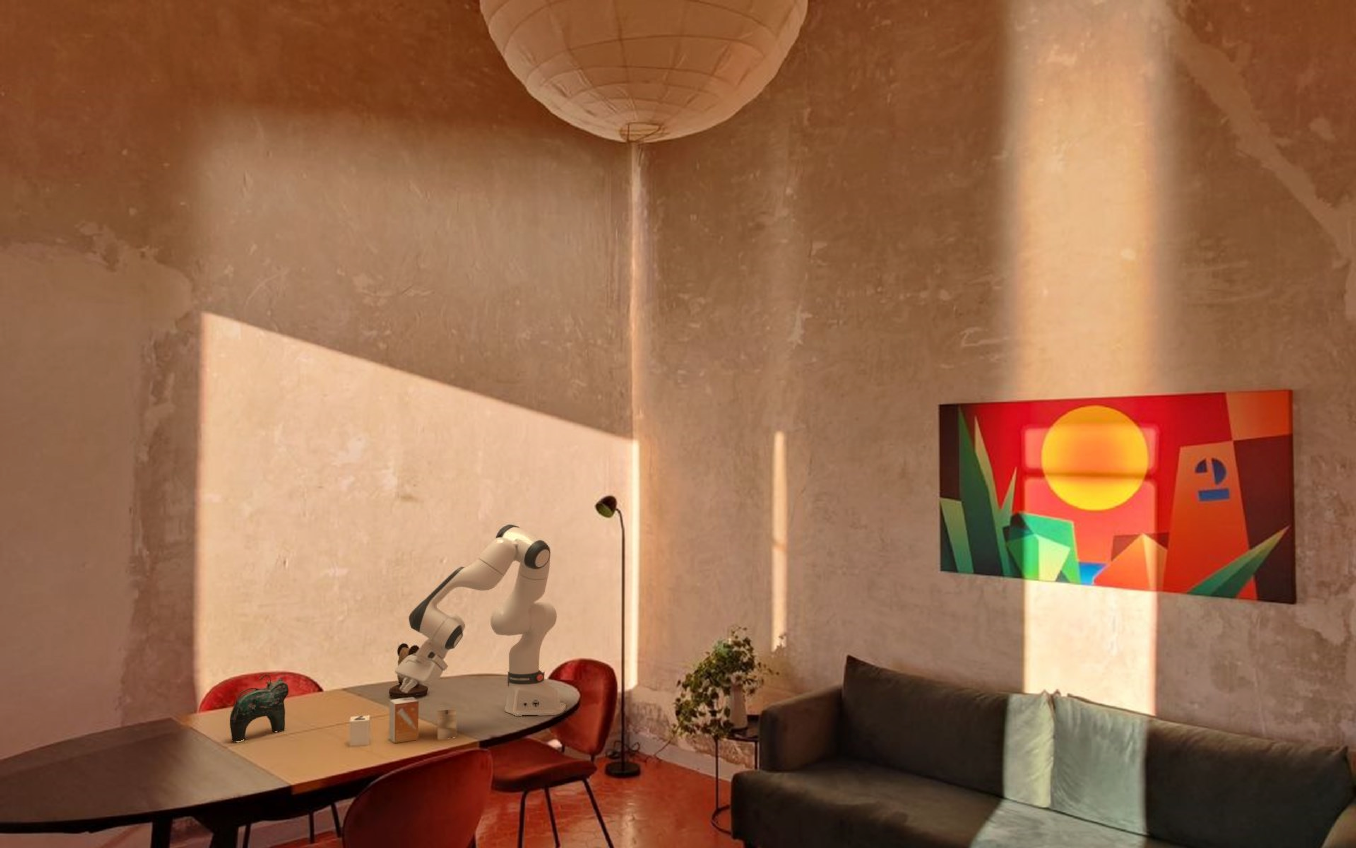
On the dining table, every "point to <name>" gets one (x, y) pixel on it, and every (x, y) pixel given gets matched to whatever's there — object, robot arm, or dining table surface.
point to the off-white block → (359, 730)
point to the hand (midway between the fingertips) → (402, 691)
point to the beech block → (446, 724)
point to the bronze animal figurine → (259, 708)
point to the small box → (403, 719)
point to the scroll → (395, 690)
